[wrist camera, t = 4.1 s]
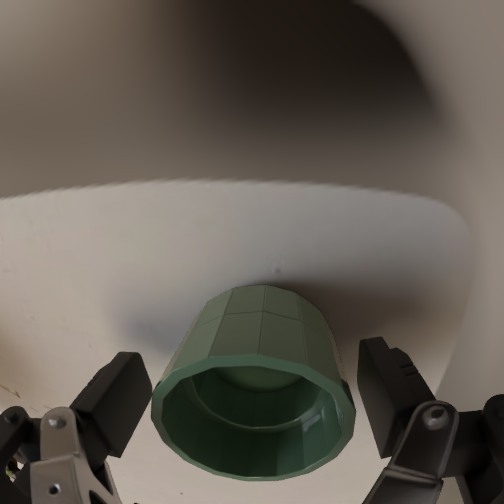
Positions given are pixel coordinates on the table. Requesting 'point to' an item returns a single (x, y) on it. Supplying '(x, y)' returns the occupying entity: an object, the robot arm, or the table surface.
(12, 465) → the toy spacecraft
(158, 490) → the table surface
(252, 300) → the green cup
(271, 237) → the table surface
